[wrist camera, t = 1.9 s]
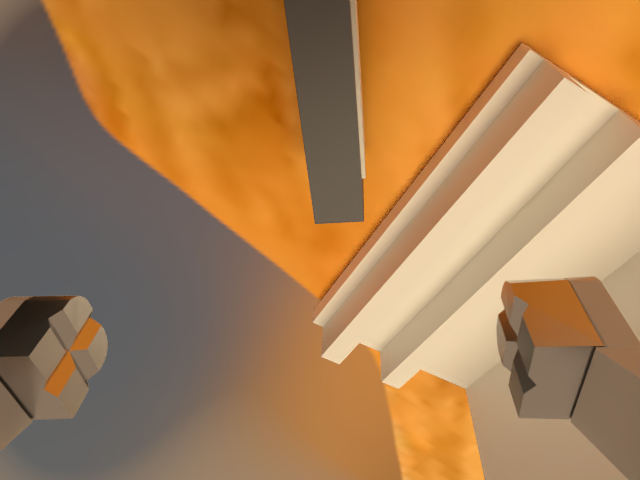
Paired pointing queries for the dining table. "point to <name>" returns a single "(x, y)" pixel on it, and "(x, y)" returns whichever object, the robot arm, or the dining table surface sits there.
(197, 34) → the dining table surface
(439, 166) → the picture ledge
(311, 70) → the picture frame
